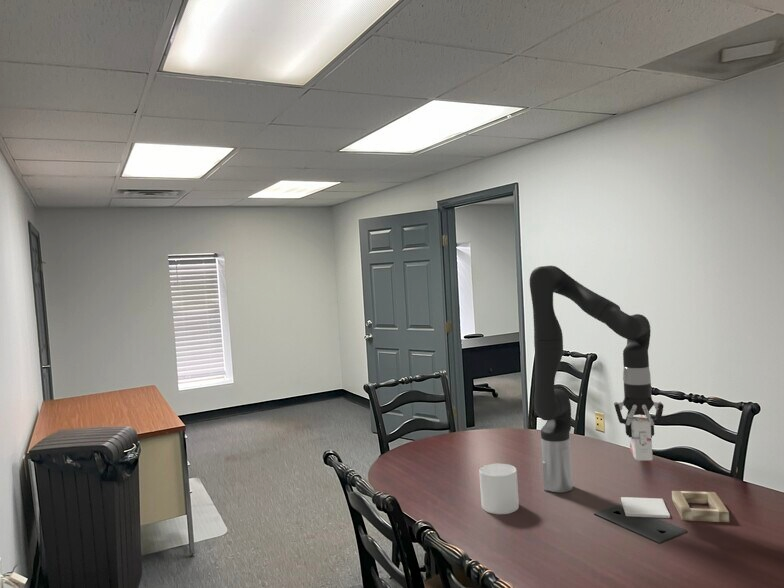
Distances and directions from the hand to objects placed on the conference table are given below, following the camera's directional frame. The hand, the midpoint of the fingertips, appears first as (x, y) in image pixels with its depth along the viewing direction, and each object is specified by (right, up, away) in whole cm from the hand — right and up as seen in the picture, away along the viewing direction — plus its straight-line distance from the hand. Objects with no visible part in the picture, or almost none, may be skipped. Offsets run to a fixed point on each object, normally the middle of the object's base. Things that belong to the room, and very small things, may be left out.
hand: (640, 436), depth 171 cm
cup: (-40, -25, +10) cm, 48 cm away
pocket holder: (+16, -21, -3) cm, 27 cm away
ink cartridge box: (0, -6, 0) cm, 6 cm away
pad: (+2, -22, +1) cm, 22 cm away
